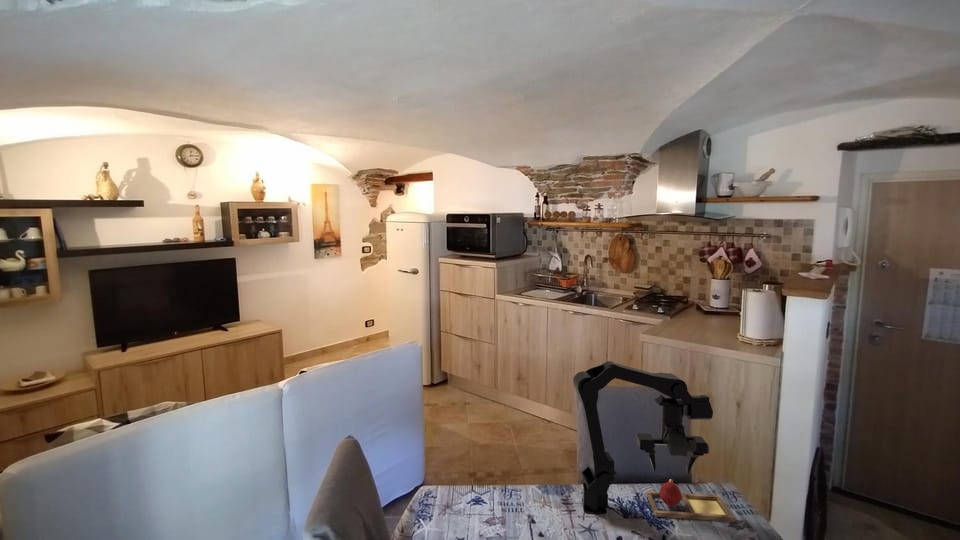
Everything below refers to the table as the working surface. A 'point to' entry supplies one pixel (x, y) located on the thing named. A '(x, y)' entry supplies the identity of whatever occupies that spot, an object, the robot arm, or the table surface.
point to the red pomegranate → (670, 493)
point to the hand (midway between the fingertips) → (670, 471)
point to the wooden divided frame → (696, 507)
